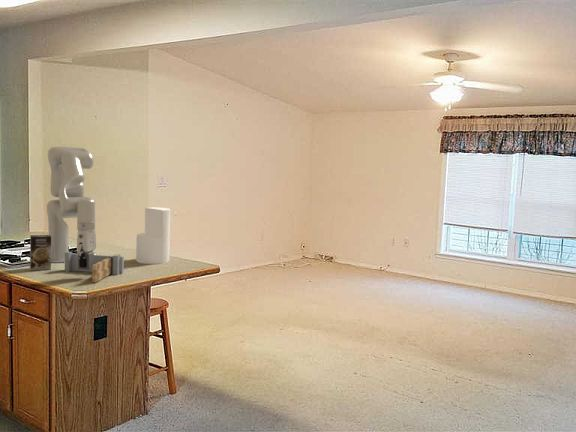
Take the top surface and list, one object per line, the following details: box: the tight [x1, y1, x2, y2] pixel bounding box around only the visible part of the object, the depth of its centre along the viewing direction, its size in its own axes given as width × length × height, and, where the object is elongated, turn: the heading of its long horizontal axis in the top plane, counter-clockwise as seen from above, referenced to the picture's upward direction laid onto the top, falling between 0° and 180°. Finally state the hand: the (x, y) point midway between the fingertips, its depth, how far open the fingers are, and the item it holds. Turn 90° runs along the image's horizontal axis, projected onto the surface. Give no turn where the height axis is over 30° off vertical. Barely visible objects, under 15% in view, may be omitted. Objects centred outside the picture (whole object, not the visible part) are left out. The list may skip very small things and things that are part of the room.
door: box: [91, 255, 113, 283], centre depth 251 cm, size 20×2×8 cm, turn 177°
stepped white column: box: [135, 206, 171, 265], centre depth 295 cm, size 17×17×28 cm
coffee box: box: [29, 234, 52, 271], centre depth 264 cm, size 9×6×16 cm
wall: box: [64, 251, 125, 276], centre depth 262 cm, size 28×4×9 cm, turn 85°
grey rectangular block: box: [78, 250, 95, 270], centre depth 250 cm, size 5×5×8 cm
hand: (85, 265), depth 250 cm, fingers closed on grey rectangular block, 5 cm apart
